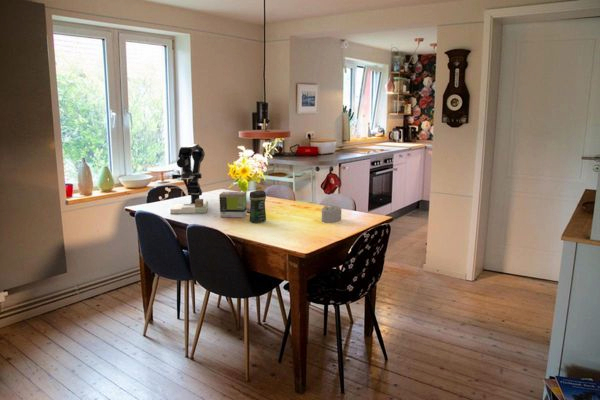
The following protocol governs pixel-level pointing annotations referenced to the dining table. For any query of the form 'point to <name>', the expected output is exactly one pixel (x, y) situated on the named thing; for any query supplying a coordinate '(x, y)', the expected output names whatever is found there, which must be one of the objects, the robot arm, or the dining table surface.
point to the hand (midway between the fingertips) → (187, 188)
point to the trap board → (188, 209)
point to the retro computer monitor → (233, 204)
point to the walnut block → (199, 203)
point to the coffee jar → (257, 206)
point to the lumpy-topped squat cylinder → (331, 214)
